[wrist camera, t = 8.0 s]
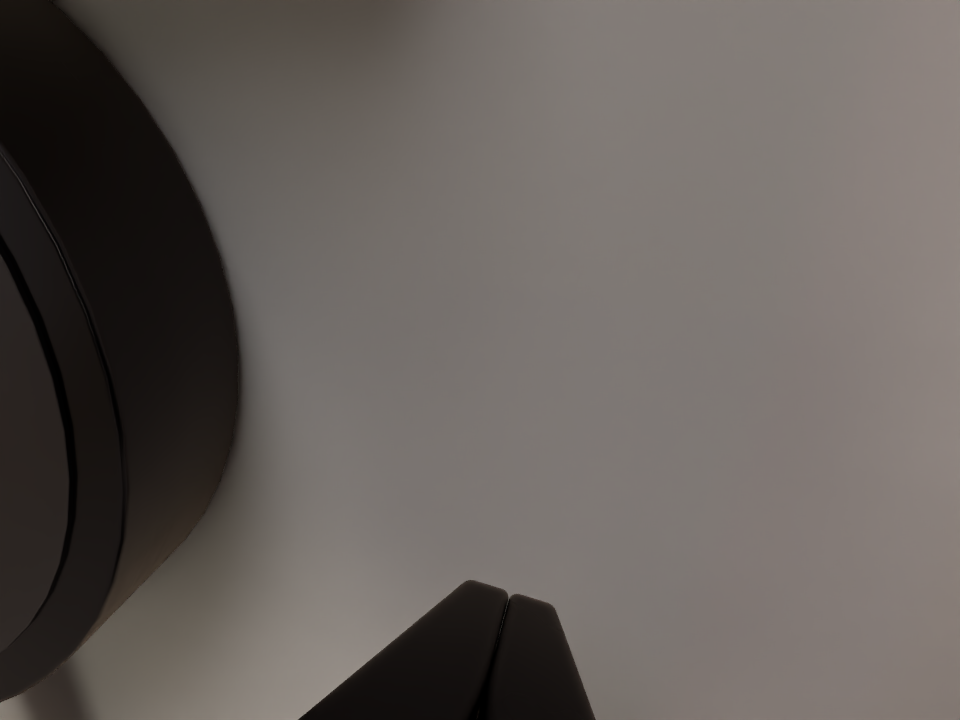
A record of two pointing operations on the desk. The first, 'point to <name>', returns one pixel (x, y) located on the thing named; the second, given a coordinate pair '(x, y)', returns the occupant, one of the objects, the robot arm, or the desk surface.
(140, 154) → the pan
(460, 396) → the desk surface
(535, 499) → the desk surface
